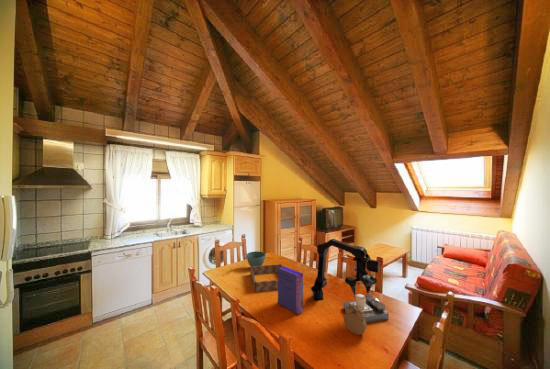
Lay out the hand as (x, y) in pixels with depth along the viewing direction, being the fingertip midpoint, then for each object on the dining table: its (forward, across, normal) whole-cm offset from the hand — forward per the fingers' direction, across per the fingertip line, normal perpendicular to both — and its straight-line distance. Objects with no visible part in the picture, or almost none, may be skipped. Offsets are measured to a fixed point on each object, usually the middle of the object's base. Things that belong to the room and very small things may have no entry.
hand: (360, 293), depth 126 cm
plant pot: (+12, -53, +85) cm, 101 cm away
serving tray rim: (+12, -46, +55) cm, 73 cm away
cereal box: (+13, -40, +17) cm, 45 cm away
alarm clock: (+13, -13, -13) cm, 23 cm away
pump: (+9, 0, 0) cm, 9 cm away
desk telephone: (+13, +3, 0) cm, 13 cm away
